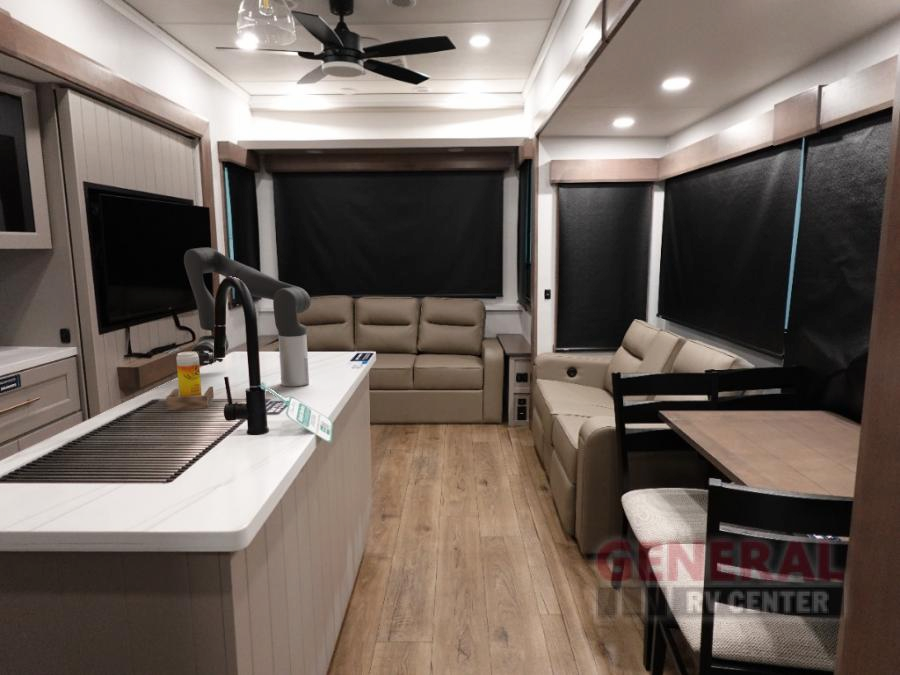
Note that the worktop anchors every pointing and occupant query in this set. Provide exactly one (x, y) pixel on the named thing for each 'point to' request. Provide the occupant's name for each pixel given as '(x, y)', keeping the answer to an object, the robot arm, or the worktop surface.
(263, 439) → the worktop surface
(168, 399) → the can holder
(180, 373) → the amber medicine vial
